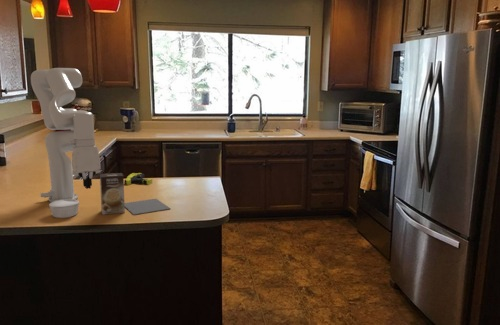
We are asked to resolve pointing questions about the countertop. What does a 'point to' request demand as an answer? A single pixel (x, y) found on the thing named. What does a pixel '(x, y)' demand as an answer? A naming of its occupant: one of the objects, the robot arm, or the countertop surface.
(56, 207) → the ramekin
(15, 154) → the countertop surface
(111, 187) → the coffee box
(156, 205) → the mat
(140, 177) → the stun gun
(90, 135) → the robot arm
